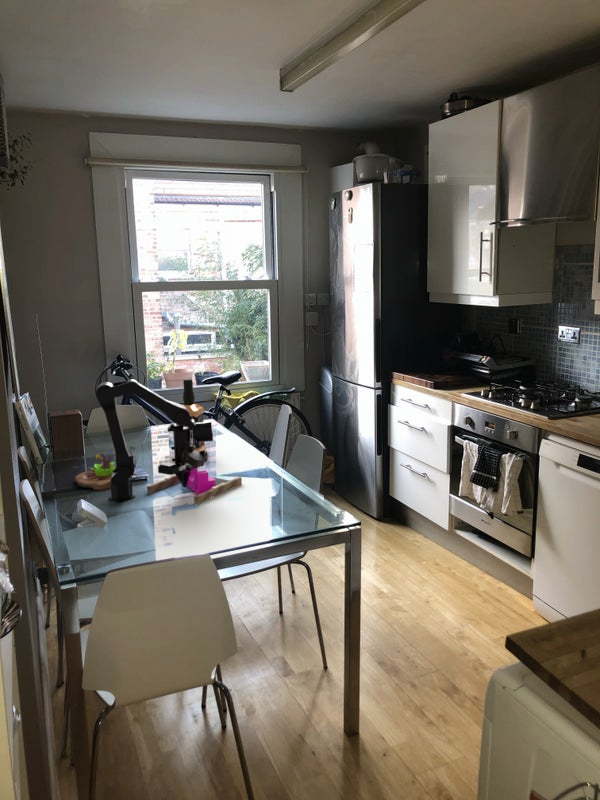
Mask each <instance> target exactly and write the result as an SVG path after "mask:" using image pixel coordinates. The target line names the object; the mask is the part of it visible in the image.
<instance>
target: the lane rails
mask: <svg viewBox="0 0 600 800" xmlns="http://www.w3.org/2000/svg"><path fill="white" fill-rule="evenodd" d="M242 480H243V479H242V477H241V476H237V477H235V478H232V479H231V480H230V481H228V482H226V483H221V484H219V485H216V486H214V487H212V489H210V490H208V491H206V492H204V493H201V494H199V495H198V494H196V495H195V496H193V503H194V504H193V505H196V504H198V505H200V504H202V503H203V501H204V502H206V501H208V500H210V499H209V498H211V497H213V496H215V497H217V496H219V495H221V494H223V493H225V491H226V492H228V491H230V490H231V488H232V489H234V488H236V487H238V486H240V484H241V485H242V484H243V483H242V482H243V481H242ZM178 483H180V481H179V479H178V478H177V476H176V475H175V474H173V475H169V476H166V477H165V478H164V479H162V480H160V481H156V482H155V483H151V484H149V485H147V486H146V493H147V494H149V495H151V494H152V493H155V492H158V491H160V490H163V489H165V488H168V487H171V486H172V485H174V484H178ZM233 487H234V488H233ZM229 489H230V490H229ZM227 490H228V491H227ZM222 492H223V493H222ZM220 493H221V494H220ZM218 494H219V495H218ZM216 495H217V496H216ZM213 498H214V497H213ZM207 499H208V500H207ZM211 499H212V498H211ZM205 500H206V501H205ZM201 502H202V503H201ZM199 503H200V504H199Z"/></svg>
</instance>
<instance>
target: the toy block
mask: <svg viewBox="0 0 600 800" xmlns="http://www.w3.org/2000/svg"><path fill="white" fill-rule="evenodd" d="M208 476H209V471H207V470H206V469H205V470H200V471H199V470H198V468H194V469H193V470H192V471H191V473H190V476H189V479H188V483H187V487H189V488H190V489H191V490H192V491H193V492H194V491H195V492H196V493H197V494H196V493H195V492H194V493H195V494H196V495H199V494H201V493H204V492H206V491H208V490H210V489H212V487H214V486H216V482H215V479H214V478H215V477H214V478H213V476H209V477H208Z"/></svg>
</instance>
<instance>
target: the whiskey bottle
mask: <svg viewBox="0 0 600 800" xmlns="http://www.w3.org/2000/svg"><path fill="white" fill-rule="evenodd" d="M182 382H183V383H182V384H183V393H182V400H183V403H182V405H183V406H185V407H187V408H188V410H189V414H190V416H191V418H192V419H194V421H195V423H198V422H204V412H205V408H204V406H201V405H199V404H197V403H195V392H194V389H193V388H194V387H193V386H194V384H193V383H194V382H193V379H192V378H184V379H183V381H182ZM175 425H177V424H176V423H175ZM183 427H186V426H185V425H183ZM190 435H191V445H194V450H195V451H196V452H198V451H199V452H200V451H202V450H206V451H207V446H206V444H205V442H196V441H195V439H194V440H193V436H192V430H190Z"/></svg>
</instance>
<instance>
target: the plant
mask: <svg viewBox="0 0 600 800" xmlns="http://www.w3.org/2000/svg"><path fill="white" fill-rule="evenodd" d="M114 456H115V457H116V453H115V454H110V456H109V457H108V458H107V459H106V456H105V455H104V453H103V452H99V453H97V454H96V455H95V460H97V461H99V460H100V461H101V464H99V463H94V465H93V467H94V468H93V467H91V468H90V469H89V470H87V471H84V472H79V474H77V475H76V476H75V482H76V481H77V483H79V484H83V485H87V486H91V487H92V488H93V489H92V490H96V491H97V490H98V491H103V490H108V489H111V485H110V482H111V480H110V479H111V475H112V472H113V471H114V469H115V468H116V465H115V462H114V461H111V459H112V458H113V457H114ZM133 475H136V476H137V472H136V471H135V470H134V474H133ZM133 475H132V476H133ZM132 476H131V477H130V478H132ZM130 478H129V479H130ZM77 483H76V484H77Z"/></svg>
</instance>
